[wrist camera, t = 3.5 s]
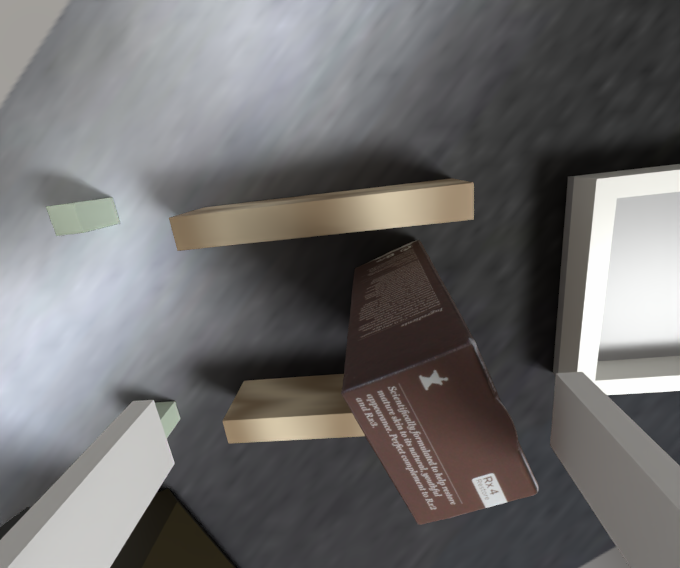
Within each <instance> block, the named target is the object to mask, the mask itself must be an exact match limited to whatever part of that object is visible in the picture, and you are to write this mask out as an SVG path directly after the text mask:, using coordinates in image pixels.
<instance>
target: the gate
mask: <svg viewBox="0 0 680 568" xmlns="http://www.w3.org/2000/svg"><path fill="white" fill-rule="evenodd" d="M46 209H47V211H48V214H49V217H50V220H51V222H52V225H53V228H54V230H55V233H56V236H60V235H69V234H78V233H85V232H89V231H93V230H96V229H100V228H104V227H108V226H112V225H115V224H119V223H120V221H119V218H118V215H117V211H116V208H115V205H114V202H113V198H104V199H96V200H88V201H81V202H74V203H67V204H60V205H54V206H47V207H46ZM155 405H156V408H157V411H158V414H159V417H160V420H161V423H162V426H163V429H164V432H165V435H166V438H167V437H168V436H169V435H170V433H171V432H172V430H173V429H174V427H175V426H176V425H177V423H178V422H179V420H180V416H179V413H178V410H177V406H176V403H175V401H171V402H156V403H155Z"/></svg>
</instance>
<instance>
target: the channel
mask: <svg viewBox="0 0 680 568" xmlns="http://www.w3.org/2000/svg"><path fill="white" fill-rule="evenodd" d="M473 219H474V183H472V182H467V181H463V180H458V179H453V178H451V179H443V180H434V181H426V182H417V183H408V184H400V185H391V186H383V187H374V188H366V189H357V190H348V191H340V192H331V193H323V194H314V195H306V196H297V197H289V198H280V199H271V200H263V201H254V202H246V203H237V204H229V205H220V206H211V207H203V208H200V209H197V210H193V211H190V212H187V213H183V214H180V215H177V216H173V217H170V218H169V220H170V224H171V228H172V231H173V235H174V239H175V243H176V246H177V250H178V251H181V250H190V249H200V248H209V247H218V246H228V245H237V244H247V243H256V242H266V241H275V240H284V239H294V238H303V237H313V236H322V235H332V234H341V233H350V232H360V231H369V230H379V229H388V228H398V227H407V226H416V225H426V224H435V223H445V222H454V221H464V220H473ZM343 378H344V374H333V375H319V376H305V377H290V378H276V379H262V380H248V381H244V382H243V384H242V386H241V387H240V389H239V391H238V393H237V395H236V397H235V399H234V401H233V402H232V404H231V406H230V408H229V410H228V412H227V414H226V416H225V417H224V419H223V424H224V428H225V432H226V436H227V439H228V443H246V442H265V441H283V440H302V439H320V438H338V437H357V436H365V435H364V433H363V431H362V429H361V428H360V426H359V424H358V422H357V421H356V419H355V417H354V415H353V413H352V412H351V410H350V408H349V406H348V405H347V403H346V401H345V400H344V398H343V396H342V394H341V391H342V387H343Z"/></svg>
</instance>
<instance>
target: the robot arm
mask: <svg viewBox="0 0 680 568" xmlns="http://www.w3.org/2000/svg"><path fill="white" fill-rule="evenodd" d="M550 446H551V447H552V449H553V450H554V452H555V453H556V455H557V456H558V458H559V460H560V461H561V463H562V464H563V466H564V467H565V469H566V470H567V472H568V473H569V475H570V476H571V478H572V479H573V481H574V482H575V484H576V485H577V487H578V489H579V490H580V492H581V493H582V495H583V496H584V498H585V499H586V501H587V502H588V504H589V505H590V507H591V508H592V510H593V511H594V513H595V514H596V516H597V518H598V519H599V521H600V522H601V524H602V525H603V527H604V528H605V530H606V531H607V533H608V534H609V536H610V537H611V539H612V540H613V542H614V543H615V545H616V546H617V548H618V550H619V551H620V552H621V554H622V556H623V557H624V559H625V560H626V562H627V563H628V565H629V566H630V568H680V466H679V465H678V464H677V463H676V462H675V461H674V460H673V459H672V458H671V457H670V456H669V455H668V454H667V453H666V452H665V451H664V450H663V449H662V448H661V447H660V446H659V445H657V444H656V443H655V442H654V441H653V440H652V439H651V438H650V437H649V436H648V435H647V434H646V433H645V432H644V431H643V430H642V429H641V428H640V427H639V426H638V425H637V424H636V423H635V422H634V421H633V420H632V419H631V418H630V417H629V416H628V415H626V414H625V413H624V412H623V411H622V410H621V409H620V408H619V407H618V406H617V405H616V404H615V403H614V402H613V401H612V400H611V399H610V398H609V397H608V396H607V395H606V394H605V393H604V392H603V391H602V390H601V389H600V388H599V387H598V386H596V385H595V384H594V383H593V382H592V381H591V380H590V379H589V378H588V377H587V376H586V375H585V374H584V373H583V372H570V373H556V380H555V392H554V405H553V417H552V429H551V442H550ZM174 464H175V463H174V460H173V457H172V454H171V451H170V448H169V445H168V442H167V438H166V435H165V432H164V429H163V426H162V423H161V420H160V417H159V414H158V411H157V408H156V405H155V402H154V400H142V401H132V402H131V403H130V405H129V406H128V407H127V408H126V409H125V410H124V411H123V412H122V413H121V414H120V415H119V416H118V417H117V418H116V419H115V420H114V421H113V422H112V423H111V424H110V425H109V427H108V428H107V429H106V430H105V431H104V432H103V433H102V434H101V435H100V436H99V437H98V438H97V439H96V440H95V441H94V442H93V443H92V444H91V445H90V446H89V447H88V449H87V450H86V451H85V452H84V453H83V454H82V455H81V456H80V457H79V458H78V459H77V460H76V461H75V462H74V463H73V464H72V465H71V466H70V467H69V468H68V470H67V471H66V472H65V473H64V474H63V475H62V476H61V477H60V478H59V479H58V480H57V481H56V482H55V483H54V484H53V485H52V486H51V487H50V488H49V489H48V490H47V492H46V493H45V494H44V495H43V496H42V497H41V498H40V499H39V500H38V501H37V502H36V503H35V504H34V505H33V506H32V507H28V508H26V509H24V510H23V511H22V512H20V513H19V514H18V515H16V516H15V517H14V518H12V519H11V520H10V521H8V522H7V523H6V524H4V525H3V526H2V527H1V528H0V568H110V567H111V565H112V564H113V562H114V560H115V559H116V557H117V556H118V554H119V552H120V551H121V549H122V547H123V546H124V544H125V543H126V541H127V539H128V538H129V536H130V535H131V533H132V531H133V530H134V528H135V526H136V525H137V523H138V522H139V520H140V518H141V517H142V515H143V514H144V512H145V510H146V509H147V507H148V506H149V504H150V502H151V501H152V499H153V497H154V496H155V494H156V493H157V491H158V489H159V488H160V486H161V485H162V483H163V481H164V480H165V478H166V476H167V475H168V473H169V472H170V470H171V468H172V467H173V465H174Z"/></svg>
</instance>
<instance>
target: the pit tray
mask: <svg viewBox="0 0 680 568" xmlns="http://www.w3.org/2000/svg"><path fill="white" fill-rule="evenodd" d="M570 372H583V373H584V374H585V375H586V376H587V377H588V378H589V379H590V380H591V381H592V382H593V383H594V384H595V385H596V386H598V387H599V388H600V389H601V390H602V391H603V392H604V393H605V394H606V395H617V394H634V393H650V392H667V391H680V164H674V165H666V166H657V167H648V168H639V169H630V170H622V171H613V172H604V173H595V174H587V175H578V176H569V177H568V183H567V196H566V209H565V222H564V235H563V248H562V261H561V274H560V287H559V300H558V313H557V326H556V339H555V352H554V365H553V373H554V375H555V376H556V373H570Z"/></svg>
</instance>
